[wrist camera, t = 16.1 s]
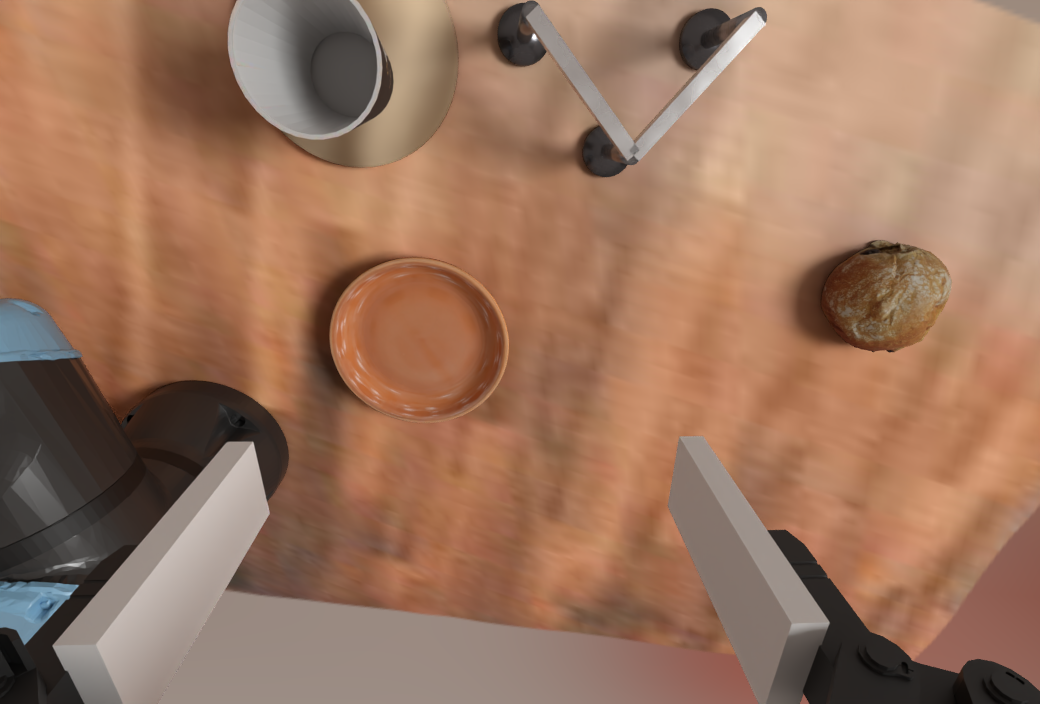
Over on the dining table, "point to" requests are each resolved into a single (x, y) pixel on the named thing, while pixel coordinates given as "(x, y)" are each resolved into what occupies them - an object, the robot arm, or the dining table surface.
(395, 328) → the saucer
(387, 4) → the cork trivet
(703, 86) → the bent wire
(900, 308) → the bread roll
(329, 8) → the coffee mug
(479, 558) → the dining table surface
